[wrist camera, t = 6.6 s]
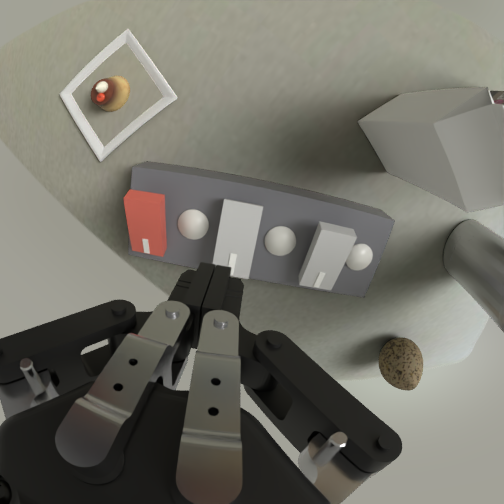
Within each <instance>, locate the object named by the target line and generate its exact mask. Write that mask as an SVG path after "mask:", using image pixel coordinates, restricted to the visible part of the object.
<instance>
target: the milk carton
mask: <svg viewBox="0 0 504 504" xmlns="http://www.w3.org/2000/svg"><path fill="white" fill-rule="evenodd" d="M358 124H359V125H360V127H361V128H362V130H363V132H364V133H365V135H366V136H367V138H368V140H369V141H370V143H371V145H372V146H373V148H374V150H375V152H376V153H377V155H378V157H379V159H380V160H381V162H382V164H383V166H384V168H385V169H386V171H387V172H388V173H389V174H392V175H394V176H396V177H398V178H401V179H403V180H405V181H407V182H409V183H411V184H414V185H416V186H418V187H420V188H422V189H424V190H426V191H428V192H430V193H432V194H434V195H436V196H438V197H440V198H442V199H444V200H446V201H448V202H450V203H451V204H453V205H455V206H457V207H459V208H460V209H462V210H464V211H466V212H467V213H469V212H474V211H478V210H483V209H488V208H492V207H497V206H501V205H504V105H503V104H495V103H494V101H493V99H492V96H491V94H490V91H489V89H488V87H467V88H450V89H438V90H428V91H419V92H411V93H404V94H400V95H398V96H397V97H395V98H394V99H392V100H390V101H389V102H387V103H385V104H384V105H382V106H381V107H379V108H377V109H376V110H374V111H373V112H371V113H369V114H368V115H366V116H365V117H363V118H362V119H360V120H359V121H358Z"/></svg>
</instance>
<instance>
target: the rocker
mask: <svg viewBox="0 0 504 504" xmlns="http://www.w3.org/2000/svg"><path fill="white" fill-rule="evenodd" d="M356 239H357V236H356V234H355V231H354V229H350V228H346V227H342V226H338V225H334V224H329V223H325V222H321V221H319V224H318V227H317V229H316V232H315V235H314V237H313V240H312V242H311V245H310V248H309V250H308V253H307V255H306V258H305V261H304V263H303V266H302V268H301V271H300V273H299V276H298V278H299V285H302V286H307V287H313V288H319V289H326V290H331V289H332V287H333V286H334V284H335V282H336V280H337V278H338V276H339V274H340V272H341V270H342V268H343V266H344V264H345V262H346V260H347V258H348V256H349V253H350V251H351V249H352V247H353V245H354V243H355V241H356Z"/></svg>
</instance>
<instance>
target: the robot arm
mask: <svg viewBox="0 0 504 504" xmlns="http://www.w3.org/2000/svg"><path fill="white" fill-rule="evenodd" d="M443 261H444V266H445V268H446V270H447V271H448V272H449V273H450V274H451V275H452V276H453V277H454V278H455V279H456V280H457V281H458V282H459V283H460V285H461V286H462V287H463V288H464V289H465V290H466V291H467V292H468V293H469V294H470V295H471V296H472V297H473V298H474V299H475V300H476V301H477V303H478V304H479V305H480V306H481V307H482V308H483V309H484V310H485V311H486V312H487V314H488V315H489V316H490V317H491V318H492V319H493V320H494V322H495V323H496V324H497V325H498V326H499V327H500V329H501V330H502V331H503V332H504V238H502V237H501V236H499V235H498V234H496V233H495V232H493V231H492V230H490V229H489V228H487V227H486V226H484V225H482V224H481V223H479V222H477V221H475V220H466V221H464V222H462V223H460V224H459V225H458V226H457V227H456V228H455V229H454V230H453V231H452V233H451V235H450V236H449V238H448V240H447V242H446V245H445V248H444V254H443ZM230 274H231V267H227V266H222V265H216V264H210V263H205V262H201V263H200V265H199V267H198V269H197V271H193V270H187V271H186V272H184V273H182V274H181V276H180V278H179V280H178V282H177V284H176V286H175V287H174V289H173V291H172V293H171V295H170V297H169V299H168V301H165V302H162V303H160V304H159V305H158V306H157V307H156V308H155V310H154V311H152V312H136V309H135V306H134V305H133V304H132V303H131V302H129V301H126V300H114V301H111V302H107V303H104V304H101V305H98V306H95V307H93V308H89V309H86V310H84V311H81V312H78V313H75V314H72V315H69V316H66V317H63V318H60V319H57V320H54V321H51V322H48V323H45V324H42V325H40V326H37V327H34V328H31V329H28V330H25V331H22V332H19V333H16V334H13V335H10V336H7V337H4V338H1V339H0V400H1V404H2V407H3V410H4V414H5V417H6V420H5V421H4V422H3V423H2V424H1V426H0V504H340V503H341V502H342V501H344V500H345V499H346V498H347V497H348V496H349V495H350V494H352V492H354V491H355V490H356V489H357V488H358V487H359V486H360V485H361V484H362V483H363V482H365V481H366V480H367V479H369V478H371V477H372V476H373V475H375V474H376V473H378V472H379V471H380V470H382V469H383V468H384V467H386V466H387V465H389V464H390V463H391V462H392V461H394V460H395V459H396V458H397V457H398V456H399V455H400V453H401V451H402V442H401V439H400V437H399V435H398V434H397V433H396V432H395V431H394V430H392V429H391V428H390V427H389V426H388V425H386V424H385V423H384V422H383V421H382V420H380V419H379V418H378V417H377V416H376V415H375V414H373V413H372V412H371V411H370V410H369V409H367V408H366V407H365V406H364V405H363V404H362V403H361V402H359V401H358V400H357V399H356V398H355V397H354V396H352V395H351V394H350V393H349V392H348V391H347V390H346V389H344V388H343V387H342V386H341V385H340V384H339V383H338V382H337V381H335V380H334V379H333V378H332V377H331V376H330V375H329V374H328V373H326V372H325V371H324V370H323V369H322V368H321V367H320V366H319V365H318V364H317V363H315V362H314V361H313V360H312V359H311V358H310V357H309V356H308V355H307V354H306V353H304V352H303V351H302V350H301V349H300V348H299V347H298V346H297V345H296V344H295V343H294V342H293V341H291V340H290V339H289V338H288V337H287V336H286V335H284V334H283V333H280V332H278V331H272V330H268V331H263V332H261V333H259V334H258V335H255V334H253V333H251V332H249V331H247V330H246V329H244V328H243V327H242V325H241V324H240V321H239V315H240V308H241V301H242V295H243V288H244V285H243V283H242V281H241V279H237V278H231V277H230ZM105 339H108V345H105V346H103V347H101V348H98V349H96V350H93V351H90V352H88V353H85V354H83V355H81V351H82V350H83V349H84V348H85V347H87V346H90V345H92V344H95V343H97V342H100V341H102V340H105ZM197 347H198V350H197V351H196V355H195V360H194V365H193V371H192V378H191V383H190V389H189V391H178V390H177V391H176V387H177V385H178V383H179V380H180V378H181V375H182V373H183V371H184V368H185V366H186V364H187V361H188V355H189V352H190V349H191V348H195V349H197ZM240 383H241V384H243V385H244V389H245V391H246V392H247V394H248V395H249V396H250V397H251V398H252V400H253V401H254V402H255V403H256V404H257V406H258V407H259V408H260V409H261V410H262V411H263V413H265V415H266V416H267V417H268V418H269V419H270V420H271V422H272V423H273V424H274V425H275V426H276V427H277V428H278V429H279V431H280V432H281V433H282V434H283V435H284V436H285V437H286V438H287V439H288V440H289V441H290V443H291V444H292V445H293V446H294V447H295V448H296V449H297V450H298V451H299V452H300V455H299V458H298V464H299V467H300V469H301V471H302V472H303V473H304V474H303V473H302V472H301V471H300V469H299V468H298V467H297V466H296V465H295V464H294V463H293V461H291V459H290V458H289V457H288V456H287V455H286V454H285V452H284V451H283V450H282V449H281V447H280V446H279V445H278V444H277V443H276V442H275V440H274V439H273V438H272V437H271V435H270V434H269V433H268V432H267V430H266V429H265V428H264V427H263V425H262V424H261V423H260V422H259V421H258V420H257V419H256V418H255V417H254V416H252V415H251V414H250V413H249V412H247V411H246V410H244V409H242V408H240Z"/></svg>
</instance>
